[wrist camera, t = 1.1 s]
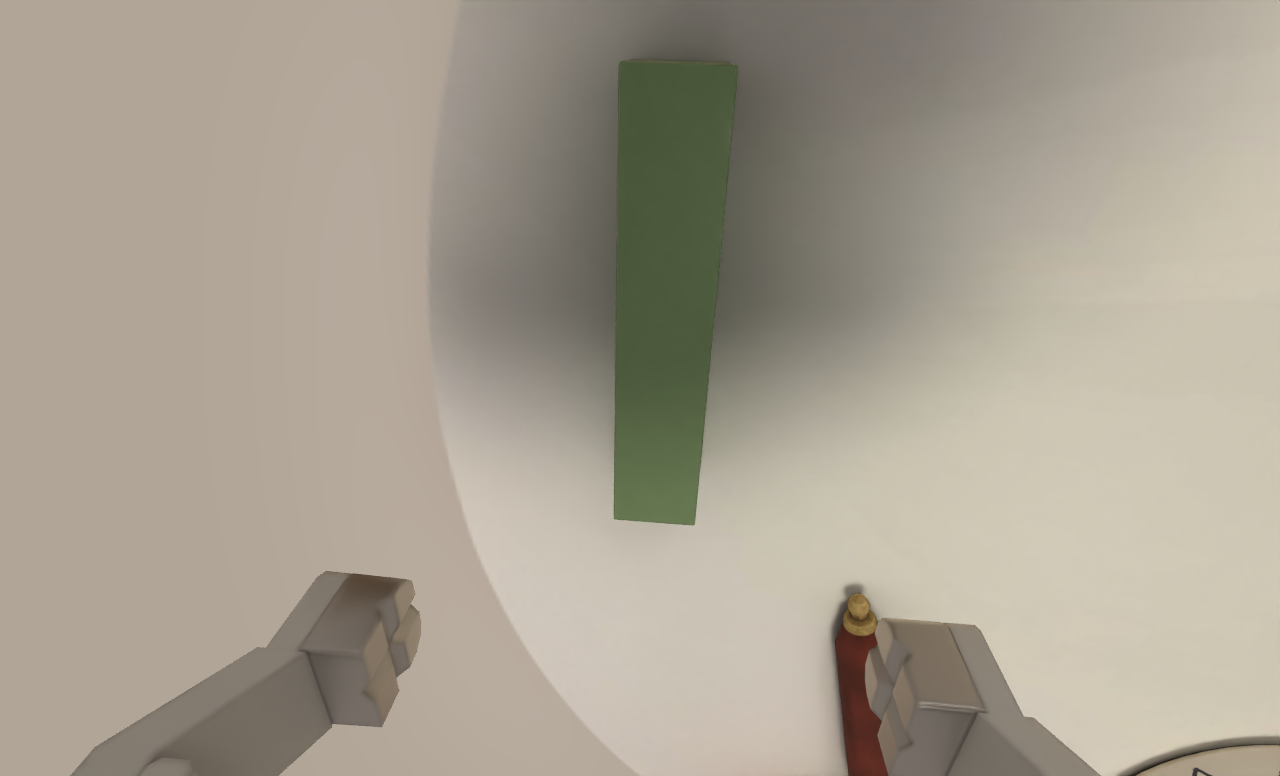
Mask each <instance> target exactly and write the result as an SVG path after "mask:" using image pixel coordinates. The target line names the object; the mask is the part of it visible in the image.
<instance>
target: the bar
mask: <svg viewBox="0 0 1280 776" xmlns="http://www.w3.org/2000/svg"><path fill="white" fill-rule="evenodd" d="M737 75H738V66H736V65H734V64H732V63H730V62H704V61H675V60H647V59H631V60H626V61H621V62H619V81H618V173H617V266H616V358H615V450H614V519H617V520H630V521H643V522H656V523H669V524H682V525H694V524H695V516H696V506H697V495H698V485H699V474H700V464H701V453H702V443H703V432H704V422H705V411H706V401H707V390H708V380H709V369H710V359H711V348H712V338H713V327H714V317H715V306H716V296H717V285H718V275H719V264H720V254H721V243H722V233H723V222H724V212H725V201H726V191H727V180H728V170H729V159H730V149H731V138H732V128H733V117H734V107H735V96H736V86H737Z"/></svg>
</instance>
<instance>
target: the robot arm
mask: <svg viewBox="0 0 1280 776" xmlns="http://www.w3.org/2000/svg"><path fill="white" fill-rule="evenodd" d="M414 596H415V591H414V587H413V583H412V581H410V580H407V579H399V578H390V577H380V576H371V575H362V574H350V573H340V572H330V571H326V572H324V573H323V574H321V575H320V576H318V577H317V578H316V579H315V581H314V582H313V583H312V585H311V586H310V588H309V589H308V590H307V592H306V593H305V595H304V596H303V597H302V599H301V600H300V601H299V603H298V604H297V606H296V607H295V608H294V610H293V611H292V612H291V614H290V615H289V617H288V618H287V620H286V621H285V622H284V624H283V625H282V626H281V628H280V629H279V630H278V632H277V633H276V635H275V636H274V637H273V639H272V640H271V641H270V643H269V644H268V646H267V647H266V648H259V647H257V648H256V649H254V650H252V651H251V652H249V653H247V654H246V655H244V656H243V657H241V658H239V659H238V660H236V661H234V662H233V663H231V664H230V665H228V666H226V667H225V668H223V669H222V670H220V671H218V672H216V673H215V674H213V675H212V676H210V677H209V678H207V679H205V680H203V681H202V682H200V683H199V684H197V685H195V686H194V687H192V688H190V689H189V690H187V691H186V692H184V693H182V694H181V695H179V696H178V697H176V698H175V699H173V700H171V701H169V702H168V703H166V704H164V705H163V706H161V707H160V708H158V709H156V710H155V711H153V712H151V713H150V714H148V715H147V716H145V717H143V718H142V719H140V720H138V721H137V722H135V723H134V724H132V725H130V726H129V727H127V728H125V729H124V730H122V731H121V732H119V733H117V734H116V735H114V736H112V737H111V738H109V739H107V740H106V741H104V742H103V743H101V744H99V745H98V746H96V747H95V748H94V749H93V750H92V751H91V752H90V754H89V755H88V756H87V757H86V758H85V759H84V761H83V762H82V763H81V764H80V765H79V766H78V767H77V769H76V770H75V771H74V772H73V773H72V775H71V776H278V775H280V773H282V772H283V771H284V770H285V769H286V768H287V767H288V766H289V765H291V763H293V762H294V761H295V760H296V759H297V758H298V757H299V756H301V754H303V753H304V752H305V751H306V750H307V749H308V748H309V747H311V746H312V745H313V744H314V743H315V742H316V741H317V740H318V739H319V738H320V737H321V736H323V735H324V734H325V733H326V732H327V731H328V730H329V729H330V728H332V724H343V725H358V726H373V727H382V726H383V724H384V722H385V719H386V717H387V715H388V713H389V711H390V709H391V707H392V705H393V702H394V700H395V698H396V696H397V694H398V692H399V688H398V684H397V680H396V677H398V676H399V675H400V674H401V673H403V672H404V671H405V670H407V669H408V668H409V667H410V666H411V664H412V661H413V659H414V657H415V654H416V652H417V648H418V644H419V640H420V635H421V619H420V614H419V612H418V611H417V610H416V609H415V608H414V607H413V606H412V605H411V602H412V600H413V598H414ZM875 636H876V639H877V643H878V645H877V646H875V647H874V648H872V649H871V650H869V653H868V657H867V660H866V664H865V685H866V692H867V697H868V701H869V705H870V709H871V710H872V711H873V712H874V713H875V714H876V715H877V716H878V718H879V719H880V720H881V721H882V723H881V726H880V729H879V732H878V735H877V736H878V739H879V743H880V747H881V750H882V754H883V758H884V761H885V765H886V768H887V772H888V776H1101V775H1099V774H1098V773H1097V772H1096V771H1095V770H1094V769H1092V768H1091V767H1090V766H1089V765H1088V764H1087V763H1086V762H1084V761H1083V760H1082V759H1081V758H1080V757H1079V756H1077V755H1076V754H1075V753H1074V752H1073V751H1072V750H1070V749H1069V748H1068V747H1067V746H1066V745H1065V744H1063V743H1062V742H1061V741H1060V740H1059V739H1058V738H1056V737H1055V736H1054V735H1053V734H1052V733H1051V732H1049V731H1048V730H1047V729H1046V728H1045V727H1044V726H1043V725H1041V724H1040V723H1039V722H1038V721H1037V720H1036V719H1034V718H1031V717H1024V716H1023V714H1022V712H1021V710H1020V708H1019V706H1018V704H1017V702H1016V700H1015V698H1014V696H1013V694H1012V692H1011V690H1010V688H1009V686H1008V684H1007V682H1006V680H1005V678H1004V676H1003V674H1002V672H1001V670H1000V668H999V666H998V664H997V662H996V660H995V658H994V656H993V654H992V652H991V650H990V648H989V646H988V644H987V642H986V640H985V638H984V636H983V634H982V632H981V630H979V629H978V628H977V627H976V626H975V625H966V624H954V623H941V622H932V621H918V620H904V619H890V618H882V619H881V620H880V621H879V622H878V624H877V627H876V630H875Z"/></svg>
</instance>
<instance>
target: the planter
mask: <svg viewBox="0 0 1280 776" xmlns="http://www.w3.org/2000/svg"><path fill="white" fill-rule="evenodd" d="M1136 776H1280V745H1250V746H1238V747H1228V748H1222V749H1216V750H1210V751H1204V752H1200V753H1196V754H1192V755H1188V756H1183V757H1180V758H1177V759H1174V760H1171V761H1168V762H1165V763H1162V764H1159V765H1157V766H1155V767H1152V768H1150V769H1148V770H1145V771H1143V772H1141V773H1139V774H1137V775H1136Z"/></svg>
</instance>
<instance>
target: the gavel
mask: <svg viewBox="0 0 1280 776" xmlns="http://www.w3.org/2000/svg"><path fill="white" fill-rule="evenodd" d="M869 608H870V606H869V602H868V600H867V598H866V597H865V596H864V595H862V594H853V595H852V596H851V597H850V598H849V599H848V610H846V612H845V613H844V615H843V622H842V625H841V627H840V630H839V632H838V635H837V637H836V640H835V646H836V656H837V666H838V676H839V686H840V695H841V705H842V715H843V725H844V735H845V745H846V754H847V764H848V774H849V776H888V772H887V768H886V765H885V761H884V758H883V754H882V750H881V747H880V743H879V739H878V736H877V735H878V732H879V729H880V726H881V723H882V721H881V720H880V719H879V718H878V716H877V715H876V714H875V713H874V712H873V711H872V710H871V709H870V705H869V701H868V697H867V692H866V685H865V664H866V660H867V657H868V653H869V650H871V649H872V648H874V647H875V646H877V645H878V643H877V639H876V636H875V630H876V627H877V619H876V616H875V615H874V613H873V612H872V611H871V610H869Z"/></svg>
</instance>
